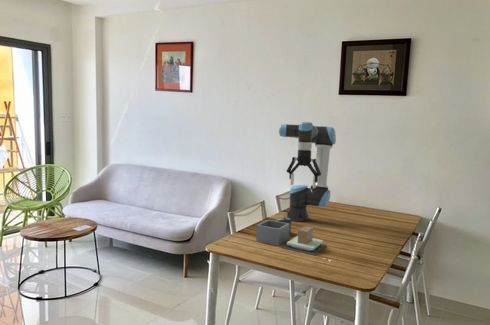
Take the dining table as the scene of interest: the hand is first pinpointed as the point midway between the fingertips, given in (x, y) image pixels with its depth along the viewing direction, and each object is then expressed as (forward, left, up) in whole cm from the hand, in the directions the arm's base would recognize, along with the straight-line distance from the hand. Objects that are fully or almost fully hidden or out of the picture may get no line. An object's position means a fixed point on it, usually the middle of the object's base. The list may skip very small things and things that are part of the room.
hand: (302, 186), depth 226 cm
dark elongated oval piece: (-2, -12, -31) cm, 33 cm away
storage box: (+12, -12, -31) cm, 35 cm away
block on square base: (+13, +8, -30) cm, 34 cm away
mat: (+13, +8, -31) cm, 34 cm away
